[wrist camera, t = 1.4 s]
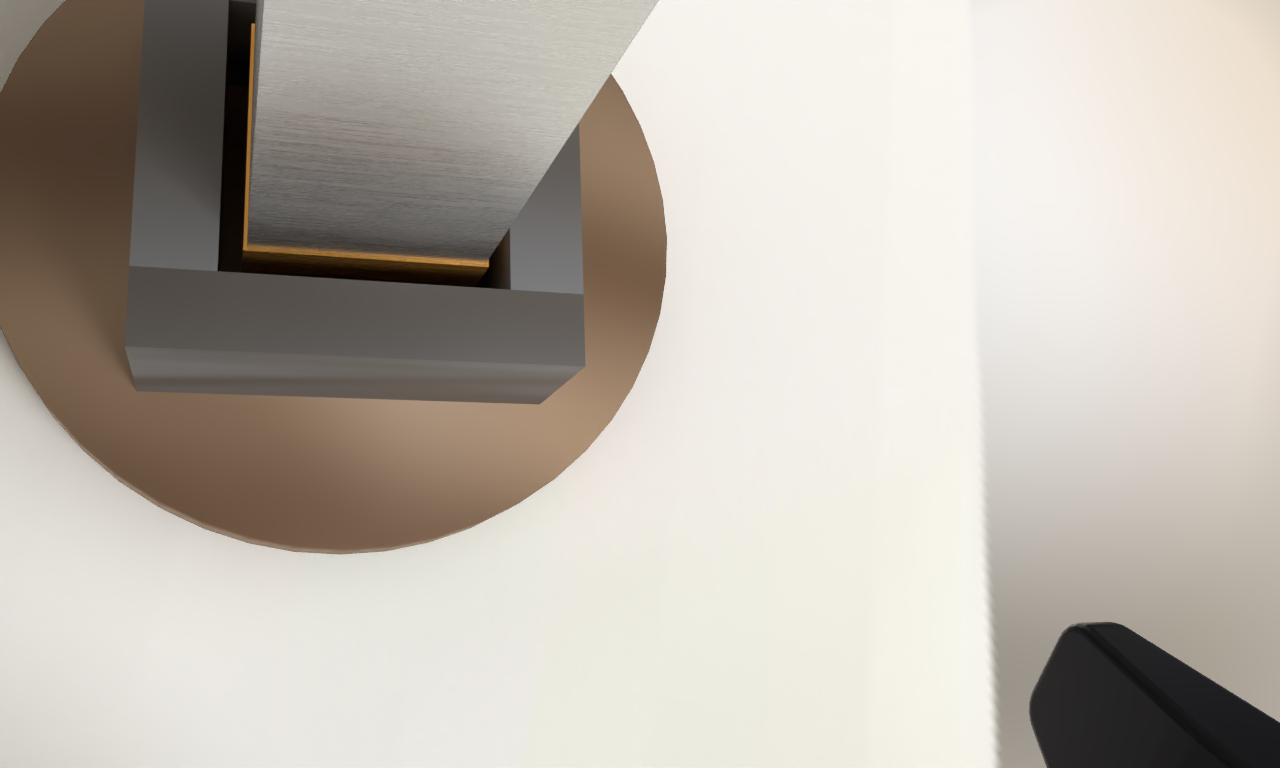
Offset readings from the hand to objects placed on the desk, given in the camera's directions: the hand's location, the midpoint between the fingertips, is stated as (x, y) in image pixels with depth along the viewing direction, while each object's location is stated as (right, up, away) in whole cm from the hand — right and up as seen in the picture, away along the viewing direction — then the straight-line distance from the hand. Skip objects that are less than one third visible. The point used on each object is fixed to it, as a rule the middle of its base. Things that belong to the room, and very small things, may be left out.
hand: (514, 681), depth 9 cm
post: (-4, +5, +13) cm, 15 cm away
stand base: (-5, +5, +14) cm, 16 cm away
